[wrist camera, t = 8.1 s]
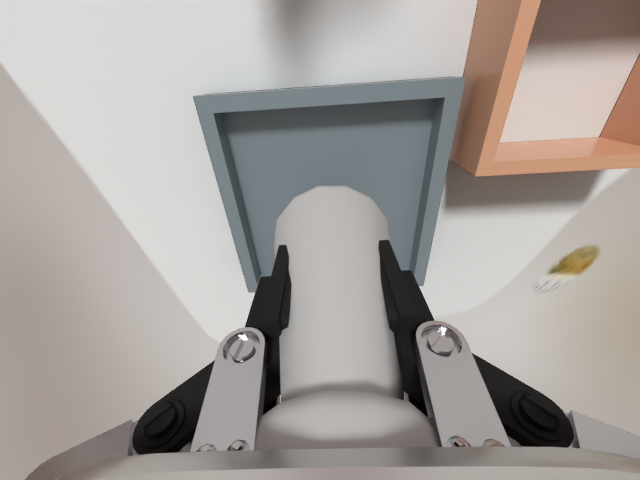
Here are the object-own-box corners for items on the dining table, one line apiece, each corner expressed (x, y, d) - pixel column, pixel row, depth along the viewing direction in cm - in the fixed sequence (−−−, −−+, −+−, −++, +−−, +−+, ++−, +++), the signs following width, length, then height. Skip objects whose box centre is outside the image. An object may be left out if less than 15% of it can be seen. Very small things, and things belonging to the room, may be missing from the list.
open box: (726, -88, 11) (881, -151, 8) (605, 148, 16) (671, 165, 13) (491, -66, 11) (552, -117, 8) (447, 157, 16) (475, 176, 13)
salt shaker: (385, 250, 16) (515, 612, 5) (297, 267, 17) (251, 614, 6) (373, 158, 13) (618, 560, 2) (266, 183, 14) (65, 576, 3)
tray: (449, 76, 14) (465, 77, 12) (416, 270, 21) (423, 285, 19) (206, 94, 14) (192, 96, 13) (253, 277, 21) (248, 292, 20)
